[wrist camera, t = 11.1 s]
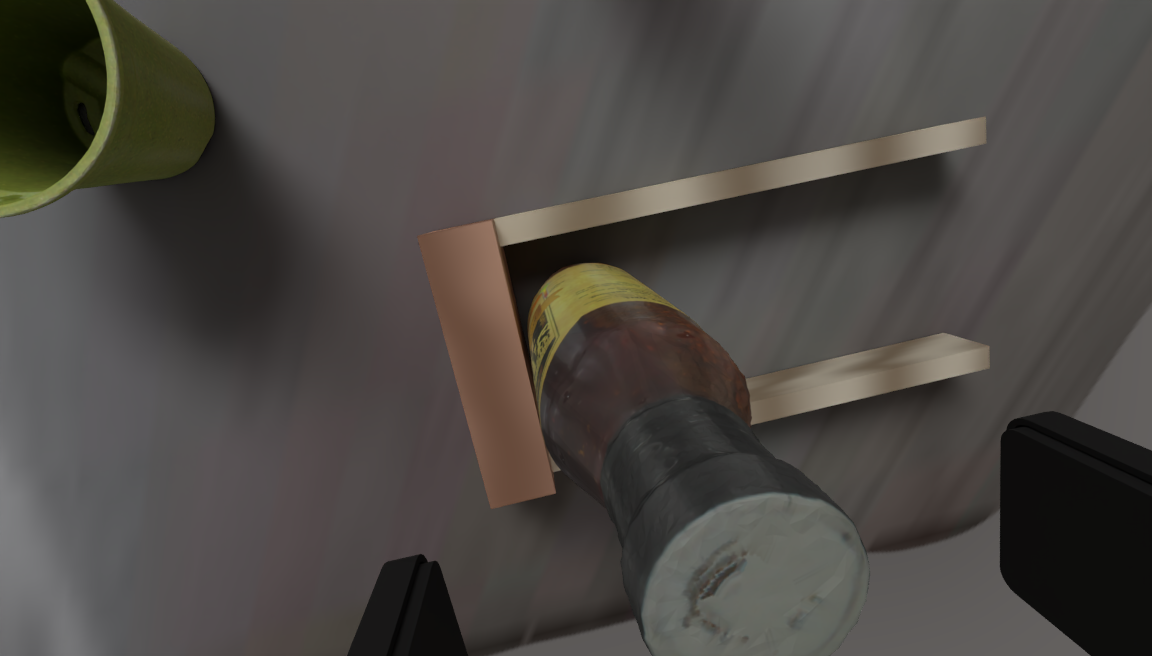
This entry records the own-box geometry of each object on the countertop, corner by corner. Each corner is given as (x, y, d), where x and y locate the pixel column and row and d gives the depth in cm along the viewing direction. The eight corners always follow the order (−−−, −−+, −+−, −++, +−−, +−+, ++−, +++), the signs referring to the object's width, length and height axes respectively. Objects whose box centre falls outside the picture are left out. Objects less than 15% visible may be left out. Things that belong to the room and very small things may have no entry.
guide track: (936, 126, 27) (1026, 108, 23) (944, 352, 30) (1025, 380, 25) (435, 230, 26) (417, 235, 21) (495, 458, 29) (491, 509, 24)
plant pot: (-19, 15, 22) (-350, -103, 14) (207, -35, 23) (23, -178, 14) (83, 236, 24) (-146, 252, 16) (287, 187, 25) (169, 177, 16)
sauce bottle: (507, 285, 27) (483, 485, 8) (622, 240, 27) (885, 323, 8) (555, 398, 28) (633, 799, 9) (663, 355, 29) (964, 661, 9)
